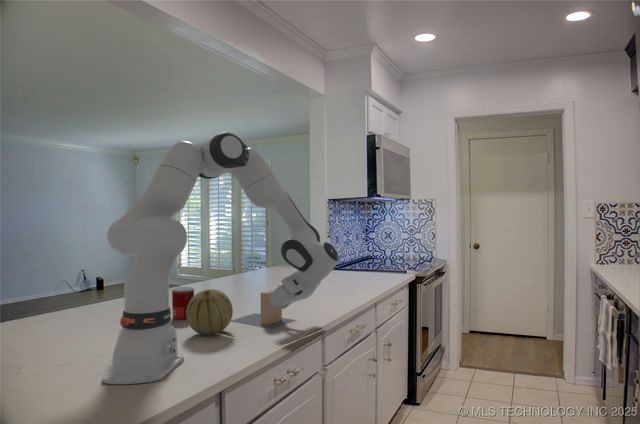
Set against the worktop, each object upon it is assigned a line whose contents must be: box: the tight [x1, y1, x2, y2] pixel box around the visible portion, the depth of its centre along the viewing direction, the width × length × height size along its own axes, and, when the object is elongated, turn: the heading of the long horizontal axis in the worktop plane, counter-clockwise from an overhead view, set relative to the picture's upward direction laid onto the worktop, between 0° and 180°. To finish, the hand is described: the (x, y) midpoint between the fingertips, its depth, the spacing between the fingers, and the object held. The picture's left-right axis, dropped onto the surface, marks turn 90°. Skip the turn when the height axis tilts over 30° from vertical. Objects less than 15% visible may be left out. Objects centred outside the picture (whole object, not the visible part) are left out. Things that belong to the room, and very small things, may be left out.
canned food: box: [171, 286, 195, 321], centre depth 168 cm, size 8×8×11 cm
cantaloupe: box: [186, 289, 234, 336], centre depth 145 cm, size 15×15×15 cm
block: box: [260, 288, 283, 325], centre depth 158 cm, size 3×8×11 cm, turn 146°
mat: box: [230, 312, 297, 330], centre depth 161 cm, size 20×14×1 cm
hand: (281, 307), depth 156 cm, fingers closed
